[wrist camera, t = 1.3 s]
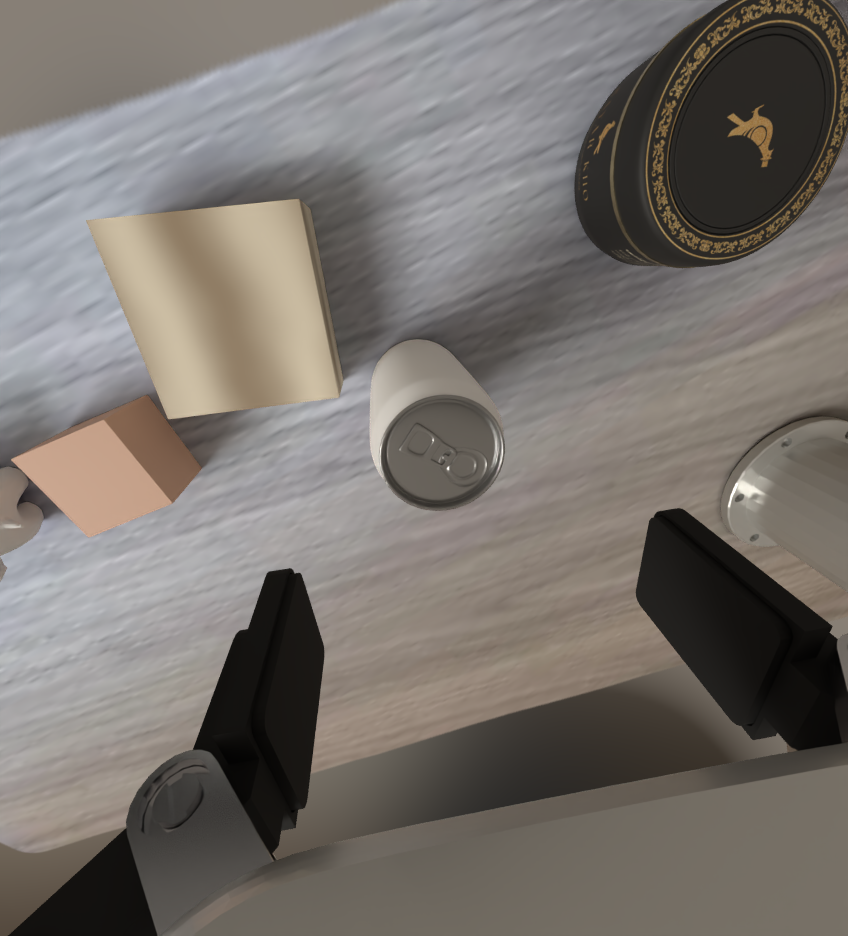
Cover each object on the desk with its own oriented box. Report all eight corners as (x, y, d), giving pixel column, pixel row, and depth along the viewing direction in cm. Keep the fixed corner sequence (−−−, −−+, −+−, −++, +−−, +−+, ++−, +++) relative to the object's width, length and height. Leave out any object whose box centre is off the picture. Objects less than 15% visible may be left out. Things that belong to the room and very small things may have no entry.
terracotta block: (148, 394, 27) (103, 419, 22) (202, 467, 30) (172, 503, 25) (69, 427, 27) (10, 459, 23) (130, 497, 30) (88, 537, 26)
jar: (591, 45, 21) (693, -58, 15) (755, 81, 23) (917, 3, 16) (546, 257, 26) (607, 254, 19) (686, 276, 27) (790, 279, 20)
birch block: (310, 208, 23) (298, 198, 20) (343, 380, 28) (339, 397, 24) (131, 227, 23) (85, 220, 19) (195, 399, 27) (168, 419, 24)
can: (430, 443, 31) (461, 538, 20) (354, 401, 28) (342, 482, 18) (480, 369, 28) (543, 431, 18) (401, 318, 26) (419, 354, 16)
